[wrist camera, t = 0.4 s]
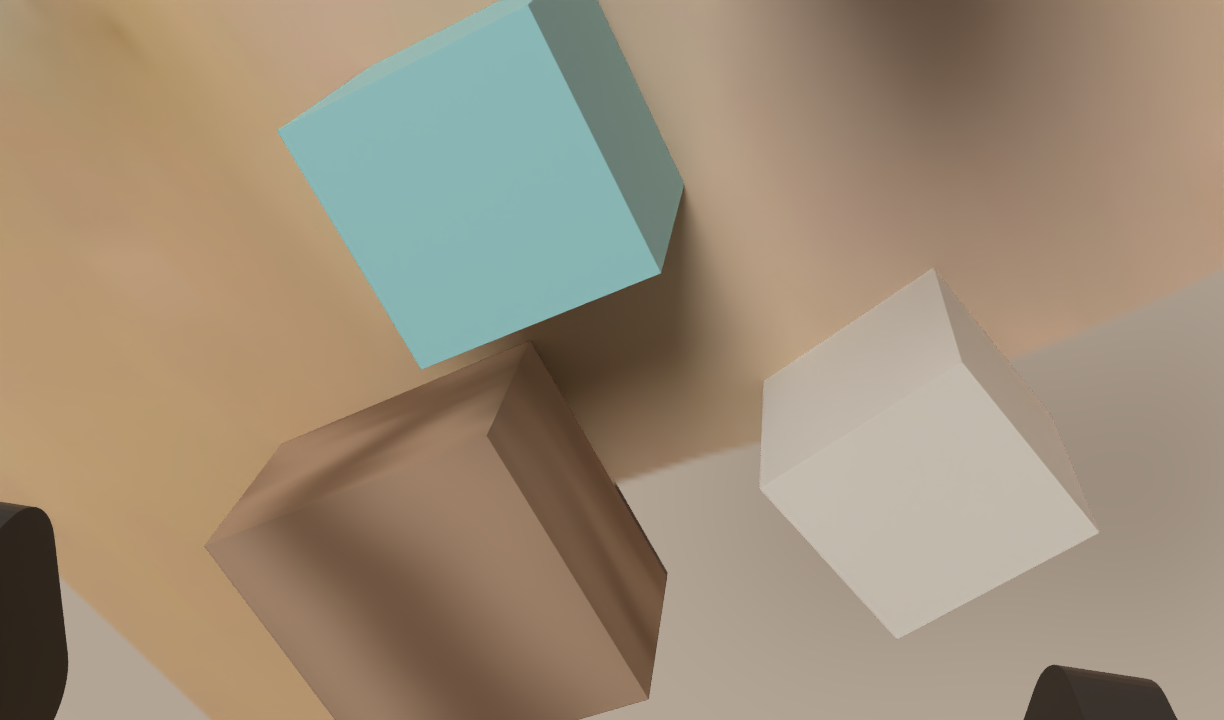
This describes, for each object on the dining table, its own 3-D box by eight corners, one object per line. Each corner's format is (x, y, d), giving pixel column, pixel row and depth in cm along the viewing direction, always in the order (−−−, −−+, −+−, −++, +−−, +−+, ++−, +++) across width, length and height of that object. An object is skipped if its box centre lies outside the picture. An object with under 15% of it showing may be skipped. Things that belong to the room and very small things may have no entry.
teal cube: (578, -41, 25) (527, 5, 20) (684, 183, 27) (661, 273, 22) (370, 66, 27) (276, 130, 22) (483, 268, 29) (421, 369, 24)
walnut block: (532, 336, 29) (486, 435, 25) (667, 572, 32) (648, 699, 28) (284, 439, 32) (204, 545, 27) (430, 650, 35) (378, 777, 30)
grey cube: (933, 265, 27) (961, 362, 22) (1050, 413, 28) (1099, 532, 24) (763, 379, 29) (759, 488, 24) (881, 513, 30) (897, 639, 26)
